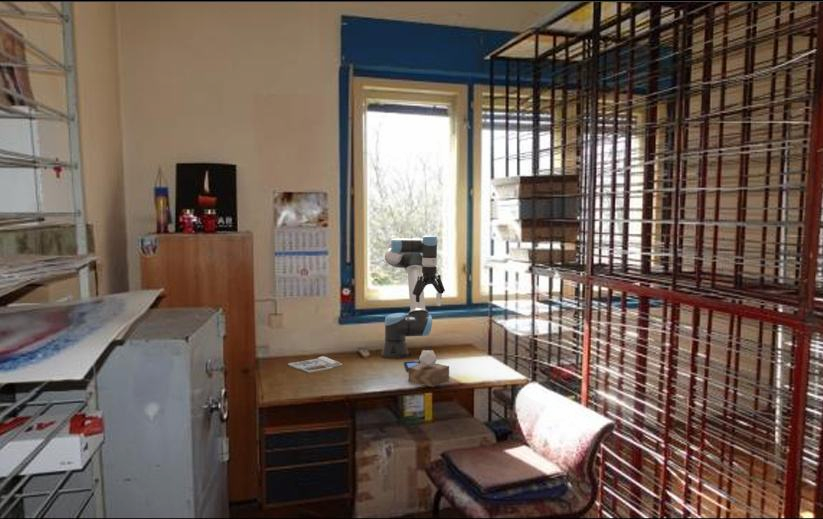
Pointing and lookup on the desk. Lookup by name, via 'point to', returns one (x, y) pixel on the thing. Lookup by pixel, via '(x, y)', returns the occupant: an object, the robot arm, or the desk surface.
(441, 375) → the walnut block
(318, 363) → the office telephone
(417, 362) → the handheld game console
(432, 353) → the die
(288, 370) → the desk surface
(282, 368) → the desk surface
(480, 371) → the desk surface
